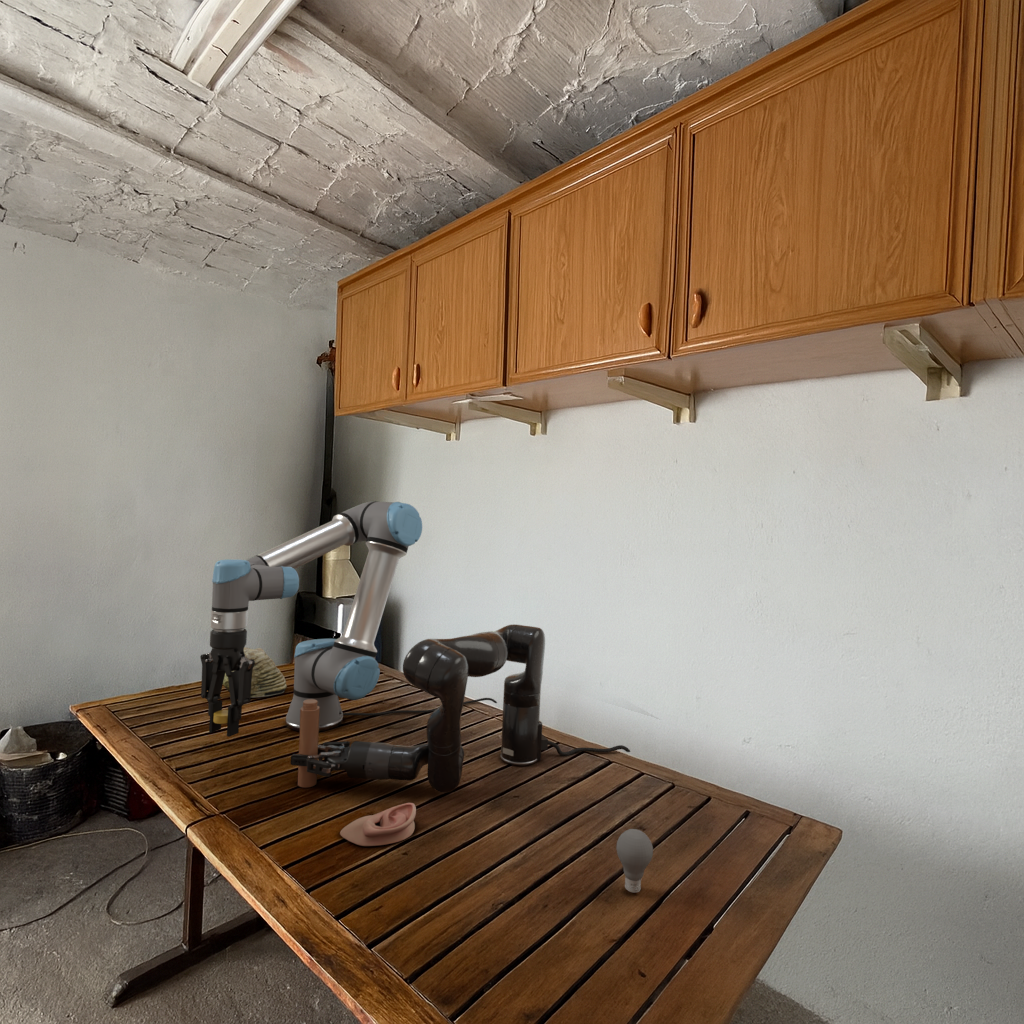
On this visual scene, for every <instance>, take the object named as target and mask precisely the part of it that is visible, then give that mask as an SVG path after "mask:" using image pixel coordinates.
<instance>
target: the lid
mask: <svg viewBox="0 0 1024 1024" xmlns="http://www.w3.org/2000/svg"><path fill="white" fill-rule="evenodd" d="M227 721H228V709H222V710H220V711H217V712H215V713H214V718H213V722H214V723H217V724H221V725H225V724H227Z"/></svg>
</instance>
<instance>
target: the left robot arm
mask: <svg viewBox="0 0 1024 1024" xmlns="http://www.w3.org/2000/svg"><path fill="white" fill-rule="evenodd" d="M422 533H423V520H422V517H421V516H420V512H419V511H418V509H416V507H414V506H413V505H411V504H410V503H406V502H405V503H404V502H400V501H394V502H393V501H379V500H377V501H376V500H370V501H367V502H363V503H360V504H357V505H355V506H353V507H351V508H348V509H346V510H344V511H342V512H339V513H337V514H335V515H333V516H332V519H331V520H330V521H328V522H326V523H324V524H322V525H320V526H318V527H315V528H313V529H311V530H309V531H306V532H304V533H303V534H300V535H297V536H295V537H294V538H291V539H289V540H287V541H285V542H283V543H281V544H279V545H276V546H274V547H272V548H269V549H268V550H265V551H263V552H261V553H259V554H256V555H254V556H251V557H249V558H247V559H220V560H218V561H216V562H215V564H214V568H213V573H212V580H211V582H212V595H211V616H210V628H211V630H210V632H209V634H210V635H209V646H210V647H211V650H210V652H207V653H204V654H201V655H200V663H201V686H200V687H201V688H200V689H201V690H200V691H201V692H200V698H201V699H205V700H206V701H207V702H208V707H207V709H208V710H207V714H208V716H209V723H208V729H209V730H208V733H210V734H213V733H215V732H218V731H220V730H222V724H217V723H214V722H213V718H214V713H215V712H217V711H220V710H223V700H222V699H223V696H221V694H222V690H223V686H224V685H223V681H224V677H225V673H226V676H227V677H228V681H229V689H230V692H229V698H230V705H228V707H227V710H228V721H227V723H226V724H227V725H226V737H232V736H235V735H237V734H239V731H240V730H239V729H240V721H241V720H242V715H243V714H242V713H243V705H246V704H249V703H250V702H251V698H250V697H251V682H252V669H253V667H254V664H255V661H254V660H253V659H252V660H249V659H247V658H246V657H245V653H244V647H246V645H247V637H248V630H247V629H246V628H247V627H248V619H249V618H248V617H249V603H250V602H254V601H264V600H265V601H266V600H283V599H287V598H292V597H294V596H295V595H296V594H297V593H298V590H299V588H300V576H299V574H298V571H297V570H296V569H298V568H300V567H302V566H304V565H306V564H308V563H310V562H312V561H314V560H317V559H318V558H321V557H322V556H324V555H326V554H328V553H330V552H332V551H334V550H336V549H339V548H340V547H342V546H346V547H351V546H352V545H355V544H356V543H361V542H365V545H366V547H367V549H368V553H367V556H366V559H365V563H364V566H363V568H362V572H361V575H360V578H359V581H358V585H357V588H356V591H355V594H354V596H353V597H354V598H353V601H352V603H351V608H350V610H349V613H348V616H347V619H346V622H345V626H344V629H343V633H342V635H341V636H339V637H338V638H317V639H308V640H304V641H300V642H299V643H297V645H296V646H295V650H294V655H293V657H294V672H293V673H294V674H293V695H292V696H293V697H292V699H291V702H290V704H289V708H288V711H287V713H286V715H285V726H286V728H287V729H289V730H291V731H294V732H295V731H296V732H300V708H301V707H303V701H304V700H308V699H315V700H317V701H318V703H317V706H319V707H320V712H319V732H325V731H329V730H332V729H335V728H337V727H339V726H340V725H342V723H343V722H344V716H345V717H347V716H349V717H350V716H355V717H356V716H361V717H372V716H373V717H375V716H383V715H390V714H391V715H392V714H425V713H433V712H434V711H435V710H436V709H437V708H433V709H424V710H423V709H421V710H419V709H416V710H414V709H413V710H412V709H402V710H401V709H400V710H399V709H398V710H389V711H381V712H343V709H342V706H341V702H340V699H339V698H341V699H347V700H351V701H357V700H360V699H363V698H364V697H366V696H367V695H369V694H370V693H372V691H373V690H374V689H375V687H376V686H377V684H378V681H379V679H380V676H381V675H380V673H381V670H380V667H379V662H378V661H377V660H376V657H377V654H378V649H377V647H376V646H375V641H376V637H377V634H378V631H379V627H380V625H381V620H382V617H383V614H384V611H385V607H386V604H387V601H388V598H389V595H390V591H391V588H392V584H393V581H394V578H395V575H396V571H397V567H398V564H399V561H400V559H402V558H403V557H405V556H406V555H407V554H408V551H409V547H411V546H413V545H415V544H416V543H417V542H418V541H419V540H420V538H421V536H422ZM234 670H235V671H234ZM232 671H233V672H232ZM483 701H490V702H493V703H494V704H498V702H497V700H495V699H494V698H492V697H482V698H478V699H473V700H467V701H464V703H463V706H465V705H468V704H474V703H478V702H483Z"/></svg>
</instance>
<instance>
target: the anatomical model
mask: <svg viewBox="0 0 1024 1024" xmlns="http://www.w3.org/2000/svg"><path fill="white" fill-rule="evenodd" d="M416 806H417V805H415V803H413V802H406V803H402V804H398V805H395V806H392V807H390V808H387V809H385V810H382V811H380V812H378V813H375V814H373V815H372V814H371V815H364V816H362V817H359V818H357V819H355V820H353V821H351V822H349V823H348V824H347V825H345V826H344V827H343V828H342V829H341V830H340V832H339V835H340V837H342V838H343V839H345V840H346V841H348V842H349V843H352V844H355V845H357V846H359V847H376V846H384V845H385V846H386V845H389V844H395V843H398V842H401V841H403V840H406V839H408V838H410V837H411V836H412V835H413V833H414V832H415V828H416V823H415V821H414V820H415V819H416V815H417V807H416Z"/></svg>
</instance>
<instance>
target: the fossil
mask: <svg viewBox="0 0 1024 1024" xmlns="http://www.w3.org/2000/svg"><path fill="white" fill-rule="evenodd" d="M244 653H245V657H246V658H247V659H249V660H252V659H253V660H254V661H255V664H254V667H253V669H252V682H251V697H250V699H251V698H264V697H271V696H275V695H281V694H284V693H285V691H286V689H287V687H288V686H287V680H286V678H285V676H284V674H283V673H282V672H281V669H279V668H278V667H277V665H276V663H275V662H274V660H273V659H272V658H271V657H270V656H269V655H268V654H267V653H266V652H265V650H264V649H263V648H260V647H258V648H251V647H247V646H245V647H244ZM234 671H235V670H234ZM232 672H233V671H232ZM222 686H223V687H224V688H225V690H226V691H228V693H230V689H229V681H228V677H227V676H226V673H225V677H224V681H223V685H222Z"/></svg>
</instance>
